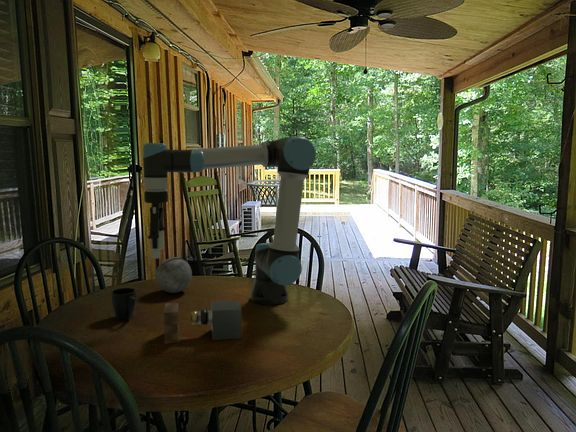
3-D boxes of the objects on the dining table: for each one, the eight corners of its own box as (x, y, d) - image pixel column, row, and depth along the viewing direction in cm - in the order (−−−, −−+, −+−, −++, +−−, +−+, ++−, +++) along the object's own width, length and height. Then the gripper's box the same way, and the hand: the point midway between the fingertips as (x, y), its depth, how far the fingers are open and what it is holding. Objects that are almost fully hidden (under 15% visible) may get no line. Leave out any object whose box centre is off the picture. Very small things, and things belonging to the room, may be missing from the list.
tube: (234, 319, 147) (234, 305, 146) (236, 325, 142) (236, 310, 142) (191, 322, 144) (191, 308, 143) (191, 328, 139) (191, 313, 139)
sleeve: (238, 327, 150) (238, 300, 148) (241, 338, 141) (241, 309, 140) (211, 329, 148) (211, 301, 146) (212, 340, 139) (212, 310, 138)
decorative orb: (181, 285, 198) (181, 252, 196) (198, 292, 187) (198, 257, 185) (150, 291, 188) (149, 256, 186) (166, 300, 177) (165, 263, 175)
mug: (121, 326, 149) (120, 298, 148) (108, 316, 158) (107, 290, 157) (144, 320, 155) (144, 294, 153) (131, 311, 164) (130, 286, 162)
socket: (178, 331, 146) (178, 302, 144) (178, 342, 137) (177, 312, 136) (166, 332, 145) (165, 303, 143) (164, 343, 136) (163, 313, 135)
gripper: (148, 187, 158) (150, 246, 161) (138, 193, 134) (140, 262, 137) (170, 187, 159) (172, 246, 162) (164, 193, 135) (166, 261, 138)
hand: (157, 253), depth 149 cm, fingers open, 13 cm apart
